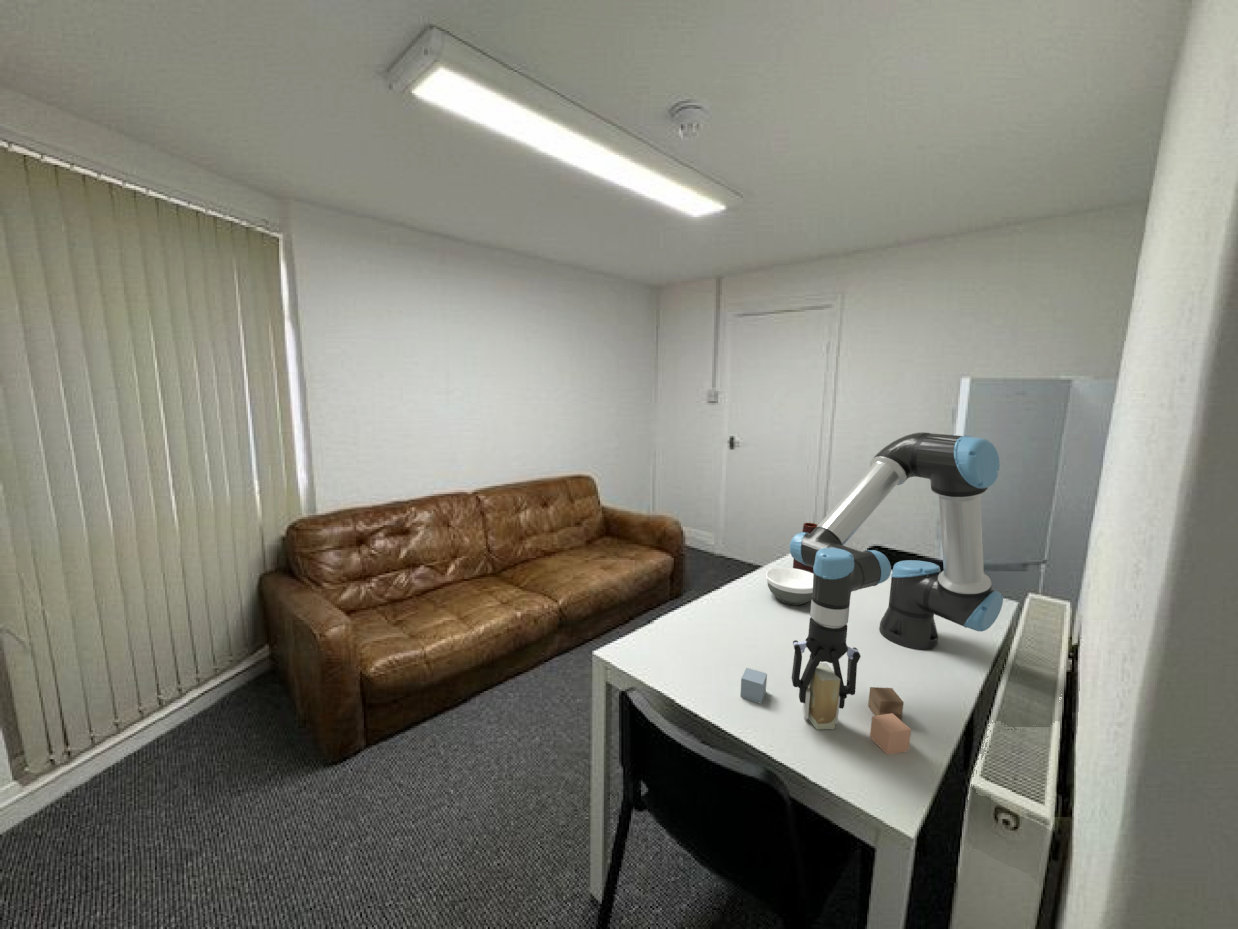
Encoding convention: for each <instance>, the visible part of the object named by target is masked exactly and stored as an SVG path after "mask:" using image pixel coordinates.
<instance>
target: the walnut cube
mask: <svg viewBox="0 0 1238 929" xmlns="http://www.w3.org/2000/svg"><path fill="white" fill-rule="evenodd" d="M868 694H869V695H868V703H867V707H868V708H869V710H870V711H871V713H872V714H873V716H877V715H884V714H891V713H893V714H894V715H895V716H896V717H897V718H899V719H900V720H901V721H902V718H903V710H904V701H903V700H902V698H901V697H900V695H899V694H897V692H896V691H895V690H894V688H892V687H879V686H878V687H877V686H876V687H875V686H874V687H873V686H869V692H868Z"/></svg>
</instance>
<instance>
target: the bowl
mask: <svg viewBox="0 0 1238 929" xmlns="http://www.w3.org/2000/svg"><path fill="white" fill-rule="evenodd" d="M765 577H766V581H767V587H768V589H769V591H770V593H771V594H773V595H774V596H775V597H776V598H778V599H779V600H780V601H781V602H783V603H785V604H787V605H793V606H799V605H803V604H805V603H808V602H810V601H811V600H812V592H813V573H810V572H808V571H804V570H800V569H795V568H793V567H775V568H770V569H769V570H768V571H766V573H765Z"/></svg>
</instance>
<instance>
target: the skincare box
mask: <svg viewBox="0 0 1238 929" xmlns="http://www.w3.org/2000/svg"><path fill="white" fill-rule="evenodd" d="M839 687H840V678H839V677H838V676H836V675H835V672H834V669H833V668H831V667H830V666H829V664H828V662H820V663H819V665H818V666H817V668H816V670H815V672H814V674H813V677H812V679H811V681H810V684H809V690H810V702H809V713H808V719H809V722H811V724H812V725H813V727H814V728H815V729H816V730H818V731H819V730H835V729H836V724H835V722H836V713H837V705H838V696H839Z"/></svg>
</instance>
